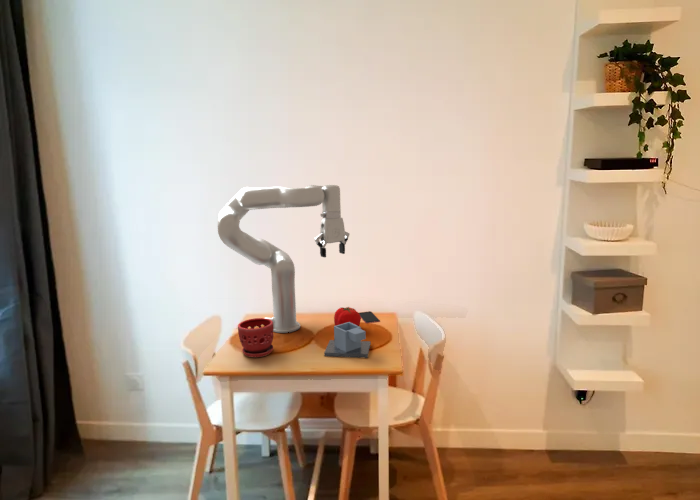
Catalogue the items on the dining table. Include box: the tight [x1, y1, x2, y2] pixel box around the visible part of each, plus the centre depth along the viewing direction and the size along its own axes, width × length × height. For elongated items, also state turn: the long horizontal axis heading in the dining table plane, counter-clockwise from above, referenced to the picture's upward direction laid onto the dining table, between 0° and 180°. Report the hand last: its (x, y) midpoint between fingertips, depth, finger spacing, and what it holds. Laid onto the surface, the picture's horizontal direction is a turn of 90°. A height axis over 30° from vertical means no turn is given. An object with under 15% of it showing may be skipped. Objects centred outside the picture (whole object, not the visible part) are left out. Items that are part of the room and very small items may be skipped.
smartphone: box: [358, 310, 381, 324], centre depth 229 cm, size 7×1×14 cm
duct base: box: [323, 339, 372, 359], centre depth 193 cm, size 16×12×6 cm
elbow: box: [333, 322, 367, 352], centre depth 191 cm, size 7×12×8 cm, turn 37°
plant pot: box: [237, 317, 274, 358], centre depth 192 cm, size 13×13×12 cm
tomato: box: [333, 306, 362, 327], centre depth 212 cm, size 11×13×10 cm
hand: (332, 255), depth 216 cm, fingers open, 9 cm apart
